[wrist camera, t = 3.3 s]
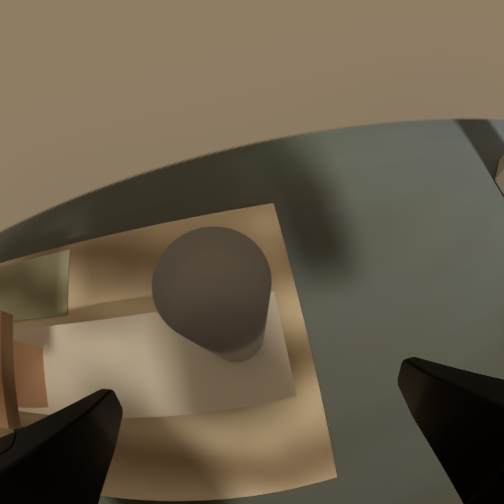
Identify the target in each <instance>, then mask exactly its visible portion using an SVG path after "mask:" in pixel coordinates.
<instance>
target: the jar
mask: <svg viewBox="0 0 504 504" xmlns="http://www.w3.org/2000/svg"><path fill="white" fill-rule="evenodd" d="M495 182H496V184H497V185H498V187H499V188H500V190H501V192H502V193H503V195H504V155H503V156H502V158H501V159H500V160H499V164H498V168H497V172H496V177H495Z"/></svg>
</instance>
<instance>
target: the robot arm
mask: <svg viewBox="0 0 504 504" xmlns="http://www.w3.org/2000/svg"><path fill="white" fill-rule="evenodd" d="M398 386H399V388H400V390H401V393H402V395H403V397H404V399H405V401H406V403H407V405H408V408H409V410H410V412H411V414H412V416H413V418H414V420H415V421H416V423H417V425H418V426H419V428H420V430H421V431H422V433H423V435H424V436H425V438H426V439H427V441H428V443H429V444H430V446H431V448H432V449H433V451H434V453H435V454H436V456H437V458H438V460H439V461H440V463H441V465H442V466H443V468H444V470H445V472H446V473H447V475H448V477H449V479H450V480H451V482H452V484H453V486H454V487H455V489H456V491H457V493H458V495H459V496H460V498H461V500H462V502H463V504H504V380H503V379H499V378H494V377H490V376H486V375H482V374H477V373H473V372H469V371H465V370H461V369H457V368H454V367H450V366H446V365H442V364H438V363H435V362H431V361H427V360H424V359H420V358H417V357H411V358H408V359H405V360H403V362H402V364H401V368H400V372H399V376H398ZM122 416H123V409H122V406H121V404H120V402H119V400H118V398H117V396H116V394H115V392H114V391H113V390H112V389H100V390H98V391H96V392H94V393H92V394H90V395H88V396H86V397H84V398H82V399H81V400H79V401H77V402H75V403H73V404H71V405H69V406H67V407H65V408H63V409H61V410H59V411H57V412H55V413H53V414H51V415H49V416H47V417H45V418H43V419H41V420H39V421H37V422H34V423H32V424H30V425H28V426H26V427H24V428H22V429H20V430H18V431H17V432H16V431H14V432H12V433H10V434H8V435H6V436H3V437H1V438H0V504H98V502H99V499H100V495H101V492H102V489H103V486H104V482H105V479H106V476H107V473H108V470H109V467H110V464H111V461H112V458H113V455H114V452H115V448H116V444H117V440H118V435H119V430H120V425H121V420H122Z"/></svg>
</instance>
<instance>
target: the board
mask: <svg viewBox="0 0 504 504" xmlns="http://www.w3.org/2000/svg"><path fill="white" fill-rule="evenodd" d="M215 226H217V227H225V228H230V229H233V230H236V231H238V232H240V233H242V234H244V235H246V236H247V237H249V238H250V239H252V240H253V241H254V242H255V243H256V244H257V245H258V246H259V248H260V249H261V250H262V252H263V253H264V255H265V257H266V259H267V261H268V264H269V267H270V271H271V277H272V286H271V292H272V291H274V294H275V298H276V303H277V307H278V312H279V316H280V321H281V325H282V330H283V334H284V339H285V343H286V348H287V353H288V357H289V362H290V366H291V371H292V376H293V380H294V385H295V390H296V394H297V397H293V398H288V399H284V400H279V401H274V402H269V403H264V404H259V405H253V406H248V407H242V408H235V409H229V410H222V411H215V412H207V413H198V414H188V415H177V416H163V417H143V418H122V420H121V425H120V430H119V435H118V440H117V444H116V448H115V452H114V455H113V458H112V461H111V464H110V467H109V470H108V473H107V476H106V479H105V482H104V486H103V489H102V492H101V495H100V496H106V497H114V498H123V499H134V500H150V501H203V500H218V499H230V498H239V497H247V496H254V495H261V494H267V493H273V492H278V491H283V490H288V489H293V488H297V487H302V486H306V485H310V484H314V483H318V482H321V481H325V480H329V479H332V478H335V477H337V474H336V469H335V464H334V458H333V453H332V448H331V443H330V438H329V433H328V428H327V423H326V418H325V413H324V408H323V404H322V399H321V394H320V389H319V385H318V380H317V376H316V371H315V367H314V362H313V358H312V353H311V349H310V345H309V340H308V336H307V332H306V328H305V323H304V319H303V315H302V311H301V307H300V303H299V299H298V295H297V291H296V287H295V283H294V279H293V275H292V271H291V267H290V263H289V259H288V255H287V251H286V247H285V244H284V240H283V236H282V232H281V229H280V225H279V221H278V217H277V214H276V210H275V206H274V203H270V204H264V205H258V206H252V207H246V208H241V209H235V210H229V211H224V212H218V213H213V214H208V215H202V216H197V217H192V218H187V219H182V220H177V221H172V222H167V223H162V224H157V225H152V226H148V227H143V228H138V229H134V230H129V231H125V232H120V233H116V234H111V235H107V236H103V237H99V238H94V239H90V240H86V241H82V242H78V243H74V244H70V245H66V246H62V247H58V248H54V249H50V250H46V251H42V252H38V253H35V254H31V255H27V256H24V257H20V258H16V259H13V260H9V261H6V262H2V263H0V311H4V312H6V313H8V314H11V315H13V329H22V328H32V327H42V326H52V325H61V324H70V323H78V322H87V321H95V320H102V319H110V318H117V317H124V316H132V315H138V314H145V313H152V312H158V311H157V309H156V306H155V304H154V300H153V295H152V277H153V273H154V269H155V266H156V264H157V262H158V260H159V258H160V256H161V255H162V253H163V252H164V250H165V249H166V248H167V247H168V246H169V245H170V244H171V243H172V242H173V241H174V240H176V239H177V238H178V237H180V236H181V235H183V234H185V233H187V232H189V231H192V230H195V229H198V228H202V227H215ZM47 416H49V415H46V414H37V413H29V412H22V411H19V417H20V423H21V428H19V429H7V428H2V427H0V438H1V437H3V436H6V435H8V434H10V433H12V432H14V431H16V432H17V431H18V430H20V429H22V428H24V427H26V426H28V425H30V424H32V423H34V422H37V421H39V420H41V419H43V418H45V417H47Z"/></svg>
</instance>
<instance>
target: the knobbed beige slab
mask: <svg viewBox="0 0 504 504" xmlns="http://www.w3.org/2000/svg"><path fill="white" fill-rule="evenodd" d="M271 286H272V277H271V271H270V267H269V264H268V261H267V259H266V257H265V255H264V253H263V252H262V250H261V249H260V248H259V246H258V245H257V244H256V243H255V242H254V241H253V240H252V239H250V238H249V237H247V236H246V235H244V234H242V233H240V232H238V231H236V230H233V229H230V228H225V227H217V226H215V227H202V228H198V229H195V230H192V231H189V232H187V233H185V234H183V235H181V236H180V237H178V238H177V239H176V240H174V241H173V242H172V243H171V244H170V245H169V246H168V247H167V248H166V249H165V250H164V252H163V253H162V255H161V256H160V258H159V260H158V262H157V264H156V266H155V269H154V273H153V277H152V295H153V300H154V304H155V306H156V309H157V311H158V312H152V313H145V314H138V315H132V316H124V317H117V318H110V319H102V320H95V321H87V322H78V323H70V324H61V325H52V326H42V327H32V328H22V329H13V357H14V374H15V386H16V395H17V403H18V410H19V411H22V412H29V413H37V414H46V415H51V414H53V413H55V412H57V411H59V410H61V409H63V408H65V407H67V406H69V405H71V404H73V403H75V402H77V401H79V400H81V399H82V398H84V397H86V396H88V395H90V394H92V393H94V392H96V391H98V390H100V389H112V390H113V391H114V392H115V394H116V396H117V398H118V400H119V402H120V404H121V406H122V409H123V416H122V418H143V417H163V416H177V415H188V414H198V413H207V412H215V411H222V410H229V409H235V408H242V407H248V406H253V405H259V404H264V403H269V402H274V401H279V400H284V399H288V398H293V397H297V394H296V390H295V385H294V380H293V376H292V371H291V366H290V362H289V357H288V353H287V348H286V343H285V339H284V334H283V330H282V325H281V321H280V316H279V312H278V307H277V303H276V298H275V294H274V291H272V292H271Z"/></svg>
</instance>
